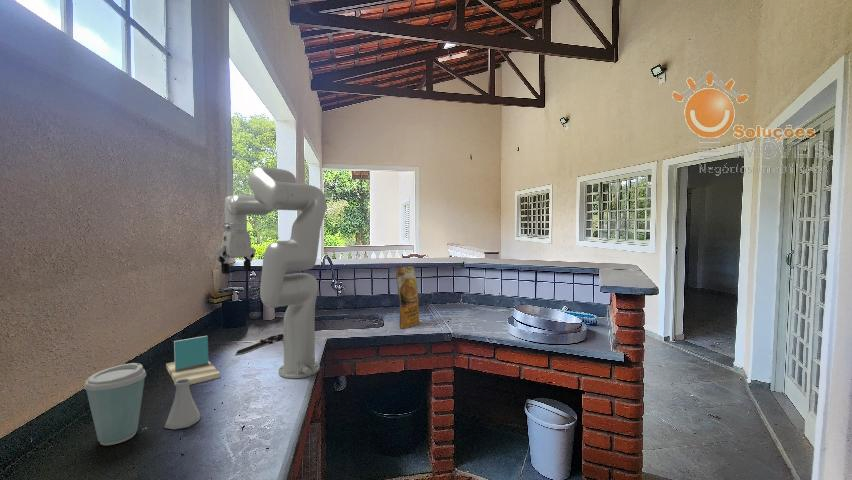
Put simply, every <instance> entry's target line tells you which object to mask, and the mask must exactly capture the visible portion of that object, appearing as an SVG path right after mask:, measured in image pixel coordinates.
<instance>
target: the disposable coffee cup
mask: <svg viewBox="0 0 852 480" xmlns="http://www.w3.org/2000/svg"><path fill="white" fill-rule="evenodd" d="M146 377H147V372H146V370H145V368H144V366H143V364H141V363H137V362H130V363H124V364H123V363H122V364H119V365H115V366H111V367H108V368H106V369H103V370H100V371H97V372H95V373H93V374H92V375H91V376H88V377H87V379H86V380H85V381H84V385H83V386H84V390H86V394H87V400H88V403H89V409H90V411H91V417H92V420H93V425H94V429H95V434H96V438H97V442H99V444H100V445H102V446H112V445H116V444H120V443H123V442H126V441H128V440H131V439H132V438H133V437H134V436H135V435H136V434H137V431H138V430H139V429H138V427H139V420H140V414H141V407H142V401H143V400H142V399H143V392H144V386H145V380H146V379H145V378H146Z"/></svg>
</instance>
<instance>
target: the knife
mask: <svg viewBox="0 0 852 480" xmlns="http://www.w3.org/2000/svg"><path fill="white" fill-rule="evenodd" d="M282 340H284V333H282V334H280V333H279V334H276V335H272V336H269V337H267V338H265V339H259V341H260V342H257V343H255V344H253V345H252V344H251V345H250V346H246V347H243V348H241V349H239V350H237V351H236V353H235V354H234V356H238V355H244V354H247V353H249V352H251V351H255V350H257V349H260V348H262V347H264V346H267V345H273V344H274V342H275V341H276V342H280V341H282Z"/></svg>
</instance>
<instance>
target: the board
mask: <svg viewBox="0 0 852 480" xmlns="http://www.w3.org/2000/svg"><path fill="white" fill-rule="evenodd" d="M165 368H166V370H167V372H168V374H169V376H170V377H171V379H172V381H173V382H174V383H175V381H177V380H180V379H186V378H187V379H191V381H190V383H189V386H191V385H195V384H201V383H203V382H208V381H212V380H216V379H220V378H221V373H220V371H219V370H218V369H217V368H216V367H215V366H214V365H213V364H212V363H211V361H209V364H206V365H202V366H197V367H192V368H188V369H183V370H178V371H175V361H172V362H168V363H165ZM174 383H173V384H174Z"/></svg>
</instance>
